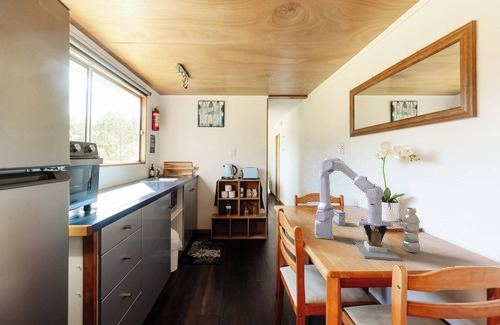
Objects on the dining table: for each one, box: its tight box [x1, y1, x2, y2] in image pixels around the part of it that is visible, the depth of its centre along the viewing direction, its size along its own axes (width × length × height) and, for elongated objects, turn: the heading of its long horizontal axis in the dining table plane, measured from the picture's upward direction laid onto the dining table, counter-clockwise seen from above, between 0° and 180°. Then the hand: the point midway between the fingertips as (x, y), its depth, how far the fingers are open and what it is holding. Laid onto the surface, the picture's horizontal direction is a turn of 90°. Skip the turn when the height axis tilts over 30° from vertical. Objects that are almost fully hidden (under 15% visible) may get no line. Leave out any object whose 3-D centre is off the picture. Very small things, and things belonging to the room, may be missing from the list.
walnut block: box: [369, 230, 381, 247], centre depth 103 cm, size 4×4×8 cm
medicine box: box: [332, 209, 346, 227], centre depth 144 cm, size 8×4×9 cm, turn 5°
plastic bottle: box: [401, 207, 421, 254], centre depth 101 cm, size 6×7×20 cm
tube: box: [363, 226, 376, 235], centre depth 133 cm, size 5×5×25 cm
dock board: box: [353, 240, 402, 262], centre depth 103 cm, size 14×18×3 cm
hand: (374, 241), depth 103 cm, fingers closed on walnut block, 4 cm apart
